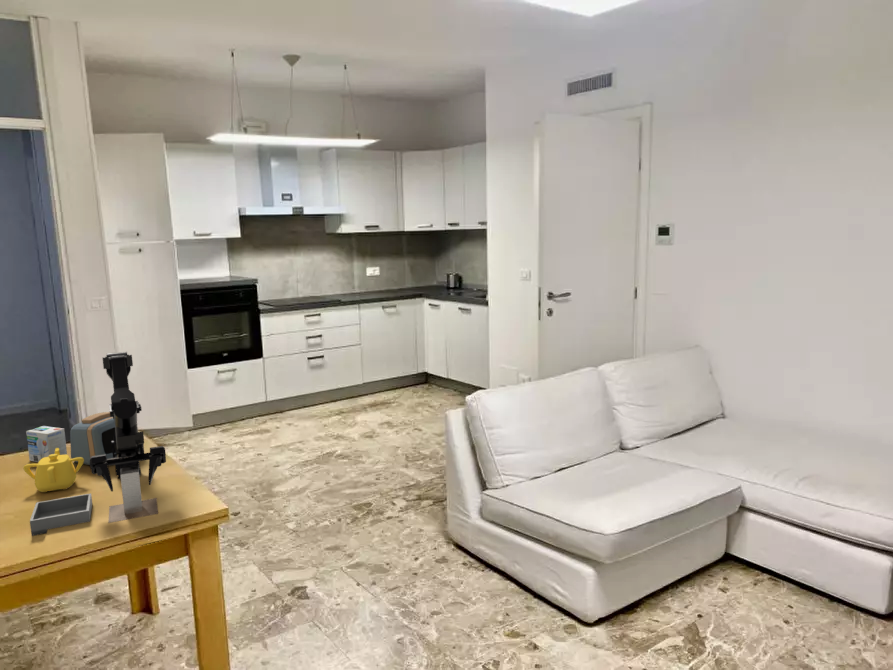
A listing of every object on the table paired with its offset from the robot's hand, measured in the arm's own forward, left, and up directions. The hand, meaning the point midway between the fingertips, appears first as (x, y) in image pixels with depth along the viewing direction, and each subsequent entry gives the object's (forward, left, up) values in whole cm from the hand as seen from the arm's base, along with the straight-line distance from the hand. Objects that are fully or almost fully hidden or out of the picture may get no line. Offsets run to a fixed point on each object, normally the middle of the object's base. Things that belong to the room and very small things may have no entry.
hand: (131, 487), depth 177 cm
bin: (+17, -5, -8) cm, 19 cm away
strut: (0, -1, -7) cm, 7 cm away
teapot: (+21, -35, -8) cm, 42 cm away
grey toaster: (+8, -56, -8) cm, 57 cm away
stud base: (0, -1, -8) cm, 8 cm away
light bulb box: (+26, -65, -8) cm, 71 cm away
